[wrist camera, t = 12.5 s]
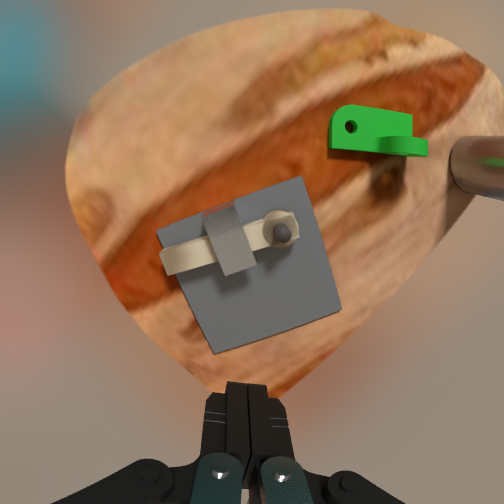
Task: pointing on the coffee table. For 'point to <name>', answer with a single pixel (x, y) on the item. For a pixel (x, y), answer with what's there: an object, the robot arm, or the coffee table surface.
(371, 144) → the mechanical part
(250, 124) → the coffee table surface
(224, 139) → the coffee table surface
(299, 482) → the robot arm
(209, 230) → the keeper
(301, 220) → the base plate
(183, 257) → the latch bar
